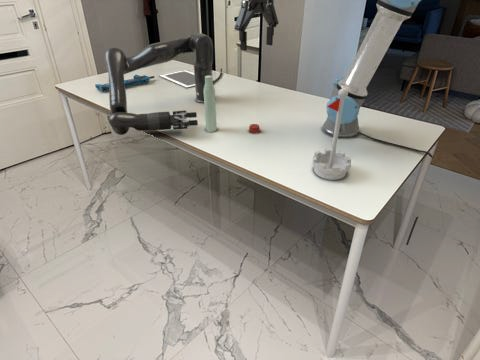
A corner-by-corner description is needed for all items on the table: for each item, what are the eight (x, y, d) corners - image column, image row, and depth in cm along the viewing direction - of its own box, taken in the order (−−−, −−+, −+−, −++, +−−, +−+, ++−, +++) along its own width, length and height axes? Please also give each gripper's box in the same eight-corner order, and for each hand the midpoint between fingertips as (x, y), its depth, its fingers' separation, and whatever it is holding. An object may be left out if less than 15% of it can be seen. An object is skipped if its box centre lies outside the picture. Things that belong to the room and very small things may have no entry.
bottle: (218, 130, 151) (216, 76, 138) (209, 132, 148) (206, 78, 135) (213, 126, 154) (210, 74, 141) (204, 129, 152) (200, 76, 139)
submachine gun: (140, 69, 223) (158, 75, 206) (141, 75, 225) (159, 81, 208) (87, 79, 204) (103, 87, 188) (89, 85, 206) (105, 94, 190)
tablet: (159, 76, 220) (159, 75, 220) (185, 70, 231) (185, 69, 231) (186, 88, 199) (186, 87, 199) (214, 81, 210) (214, 80, 210)
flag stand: (334, 159, 128) (348, 80, 112) (356, 176, 118) (375, 92, 101) (304, 166, 124) (314, 84, 108) (324, 184, 114) (338, 97, 97)
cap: (250, 128, 152) (250, 123, 150) (259, 129, 151) (259, 124, 150) (248, 132, 148) (248, 127, 147) (258, 133, 148) (258, 128, 146)
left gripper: (160, 122, 153) (196, 119, 155) (159, 136, 141) (198, 133, 143) (158, 106, 148) (195, 104, 150) (157, 119, 137) (197, 117, 139)
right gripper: (275, -19, 128) (272, 41, 139) (223, -16, 114) (225, 50, 126) (290, -18, 123) (286, 44, 135) (238, -15, 110) (238, 54, 121)
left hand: (197, 118), depth 147 cm, fingers open, 8 cm apart
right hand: (256, 47), depth 130 cm, fingers open, 13 cm apart
